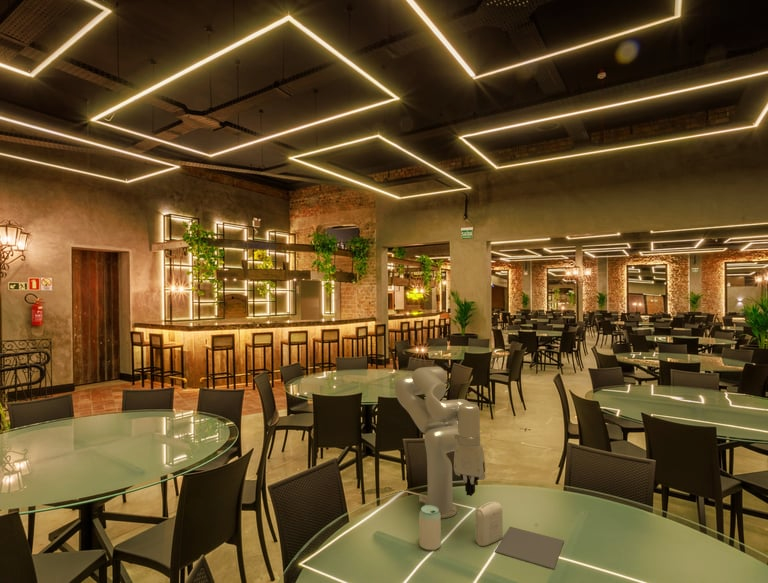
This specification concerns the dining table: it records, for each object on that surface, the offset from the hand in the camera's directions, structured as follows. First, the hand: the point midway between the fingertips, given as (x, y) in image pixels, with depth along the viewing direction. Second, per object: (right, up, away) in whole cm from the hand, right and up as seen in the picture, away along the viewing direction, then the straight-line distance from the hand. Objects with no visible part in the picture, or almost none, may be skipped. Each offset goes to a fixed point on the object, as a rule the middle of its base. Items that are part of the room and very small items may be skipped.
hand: (470, 494), depth 150 cm
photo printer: (+6, -14, -4) cm, 16 cm away
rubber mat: (+18, -14, -7) cm, 24 cm away
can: (-15, -14, -6) cm, 21 cm away
